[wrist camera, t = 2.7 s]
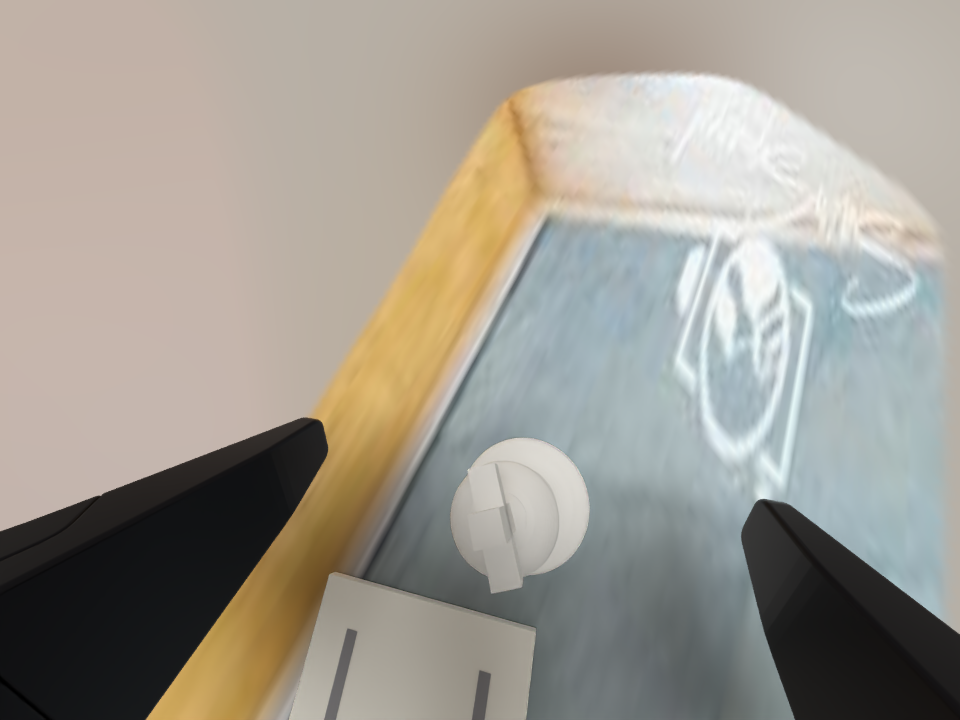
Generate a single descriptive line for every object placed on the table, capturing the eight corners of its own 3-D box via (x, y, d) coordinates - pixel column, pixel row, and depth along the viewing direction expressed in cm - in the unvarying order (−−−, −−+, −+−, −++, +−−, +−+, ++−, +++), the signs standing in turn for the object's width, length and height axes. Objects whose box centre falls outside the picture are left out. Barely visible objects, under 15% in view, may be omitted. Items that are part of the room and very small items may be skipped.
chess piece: (567, 425, 15) (609, 315, 5) (608, 558, 13) (781, 745, 3) (452, 453, 15) (305, 396, 6) (476, 586, 13) (317, 822, 4)
